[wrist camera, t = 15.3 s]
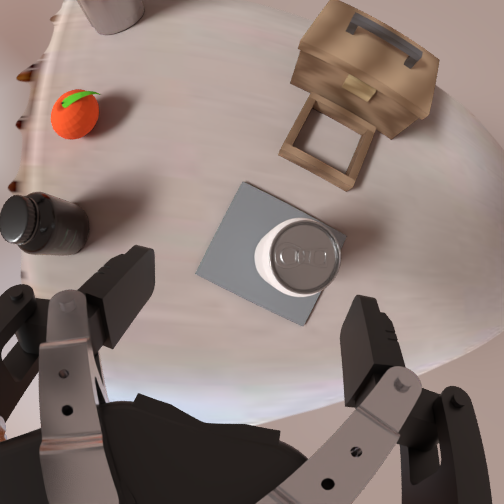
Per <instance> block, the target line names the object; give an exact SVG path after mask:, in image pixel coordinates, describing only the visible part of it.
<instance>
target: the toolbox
mask: <svg viewBox="0 0 504 504" xmlns="http://www.w3.org/2000/svg"><path fill="white" fill-rule="evenodd" d="M298 49H299V50H301V51H300V54H299V57H298V60H297V63H296V66H295V70H294V73H293V76H292V79H291V82H290V84H292V85H295V86H297V87H299V88H301V89H303V90H305V91H307V92H309V93H311V94H310V95H309V97H308V99H307V101H306V103H305V105H304V106H303V108H302V110H301V112H300V114H299V116H298V117H297V119H296V121H295V123H294V125H293V127H292V128H291V130H290V132H289V134H288V136H287V138H286V140H285V141H284V143H283V145H282V147H281V149H280V152H279V154H278V155H279V156H281V157H283V158H285V159H287V160H289V161H291V162H293V163H295V164H297V165H299V166H301V167H302V168H304V169H306V170H308V171H310V172H312V173H314V174H316V175H317V176H319V177H321V178H323V179H325V180H327V181H328V182H330V183H332V184H334V185H335V186H337V187H339V188H341V189H342V190H344V191H348V190H350V189H351V188H353V186H354V183H355V181H356V178H357V176H358V174H359V171H360V169H361V166H362V164H363V161H364V159H365V156H366V154H367V151H368V149H369V146H370V144H371V141H372V138H373V136H374V133H375V131H376V130H377V131H379V132H380V133H382V134H384V135H385V136H387V137H388V138H390V139H393V138H394V137H395V136H396V135H398V134H399V133H400V132H402V131H403V130H404V129H405V128H407V127H408V126H409V125H411V124H412V123H413V122H415V121H416V120H417V119H418V118H420V119H421V120H423V119H424V118H425V117H427V116H428V115H429V112H430V108H431V103H432V99H433V94H434V89H435V84H436V78H437V72H438V66H439V59H438V58H436V57H435V56H434V55H432V54H431V53H430V52H428V51H427V50H425V49H424V48H423V47H421V46H420V45H418V44H417V43H415V42H414V41H412V40H410V39H409V38H408V37H406V36H404V35H403V34H401V33H400V32H398V31H396V30H394V29H393V28H391V27H390V26H388V25H386V24H385V23H383V22H381V21H379V20H377V19H376V18H374V17H372V16H370V15H368V14H366V13H364V12H362V11H360V10H358V9H356V8H354V7H352V6H350V5H348V4H346V3H344V2H341V1H339V0H330V1H329V2H328V3H327V5H326V6H325V7H324V9H323V10H322V11H321V13H320V14H319V15H318V17H317V18H316V19H315V21H314V22H313V24H312V25H311V26H310V28H309V29H308V30H307V32H306V33H305V35H304V36H303V38H302V39H301V40H300V44H299V47H298ZM312 108H313V109H315V110H317V111H319V112H321V113H323V114H325V115H326V116H328V117H330V118H332V119H334V120H336V121H338V122H339V123H341V124H343V125H345V126H346V127H348V128H350V129H352V130H353V131H355V132H357V133H358V134H360V135H362V136H361V138H360V141H359V143H358V146H357V148H356V150H355V153H354V155H353V157H352V160H351V162H350V165H349V167H348V169H347V172H346V174H343V173H341V172H340V171H338V170H336V169H334V168H333V167H331V166H329V165H327V164H325V163H324V162H322V161H320V160H318V159H316V158H314V157H313V156H311V155H309V154H307V153H305V152H303V151H301V150H299V149H297V148H295V147H293V146H292V145H293V143H294V141H295V139H296V137H297V135H298V134H299V132H300V130H301V128H302V126H303V124H304V122H305V120H306V118H307V116H308V115H309V113H310V111H311V109H312Z"/></svg>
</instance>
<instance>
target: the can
mask: <svg viewBox="0 0 504 504" xmlns="http://www.w3.org/2000/svg"><path fill="white" fill-rule="evenodd" d="M254 258H255V265H256V269H257V271H258V273H259V274H260V276H261V277H262V278H263V279H264V280H265V281H266V282H268V283H269V284H270V285H272V286H273V287H274V288H276V289H277V290H279V291H280V292H282V293H284V294H287V295H290V296H294V297H307V296H311V295H314V294H316V293H318V292H320V291H322V290H323V289H324V288H326V287H327V286H328V285H329V284H330V283H331V282H332V281H333V280H334V279H335V277H336V275H337V273H338V271H339V268H340V263H341V251H340V247H339V244H338V241H337V239H336V238H335V236H334V235H333V233H332V232H331V231H330V230H329V229H328V228H327V227H325V226H324V225H322V224H320V223H319V222H317V221H315V220H312V219H308V218H294V219H289V220H286V221H284V222H282V223H280V224H279V225H277V226H276V227H275V228H273V229H272V230H271V231H270V232H268V233H267V234H266V235H265V236H264V237H263V238H262V239H261V240H260V242H259V243H258V245H257V247H256V250H255V256H254Z"/></svg>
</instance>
